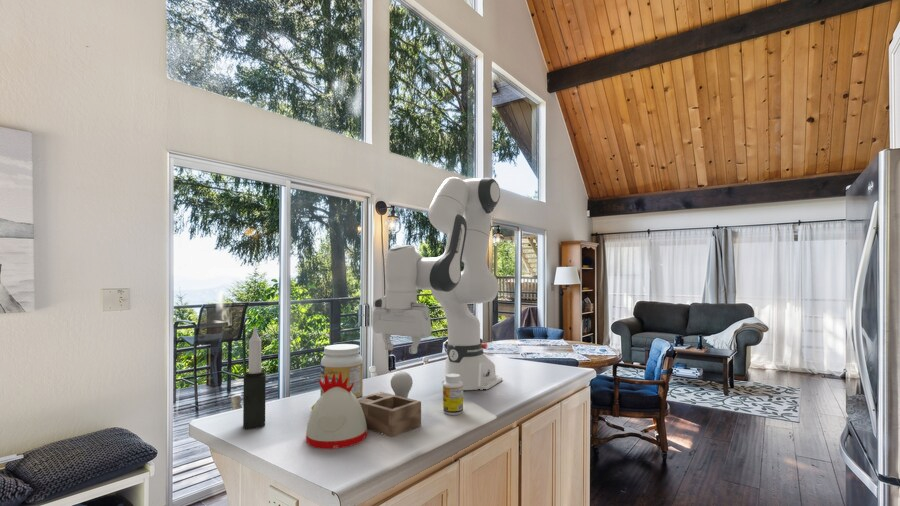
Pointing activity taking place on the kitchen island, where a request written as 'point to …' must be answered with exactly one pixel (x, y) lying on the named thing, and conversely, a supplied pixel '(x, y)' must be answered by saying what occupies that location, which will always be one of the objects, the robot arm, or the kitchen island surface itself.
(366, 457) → the kitchen island surface
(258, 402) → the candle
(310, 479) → the kitchen island surface
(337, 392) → the kitchen timer
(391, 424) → the socket block
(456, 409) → the supplement bottle
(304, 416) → the kitchen island surface
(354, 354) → the supplement tub
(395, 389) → the lightbulb
